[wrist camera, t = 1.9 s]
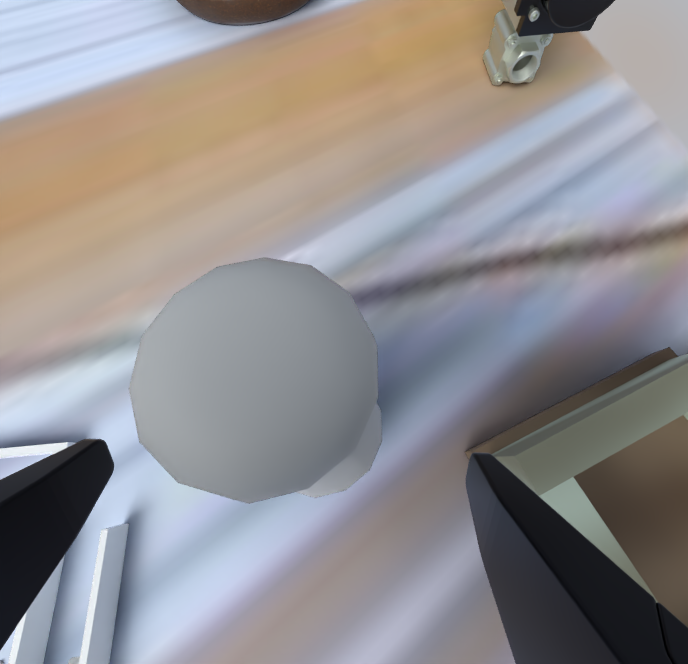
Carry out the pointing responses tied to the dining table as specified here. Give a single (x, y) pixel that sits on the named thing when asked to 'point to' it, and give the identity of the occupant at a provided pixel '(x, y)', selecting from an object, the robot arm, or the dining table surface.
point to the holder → (617, 469)
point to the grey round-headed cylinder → (259, 384)
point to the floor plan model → (39, 615)
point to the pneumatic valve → (533, 34)
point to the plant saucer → (242, 10)
